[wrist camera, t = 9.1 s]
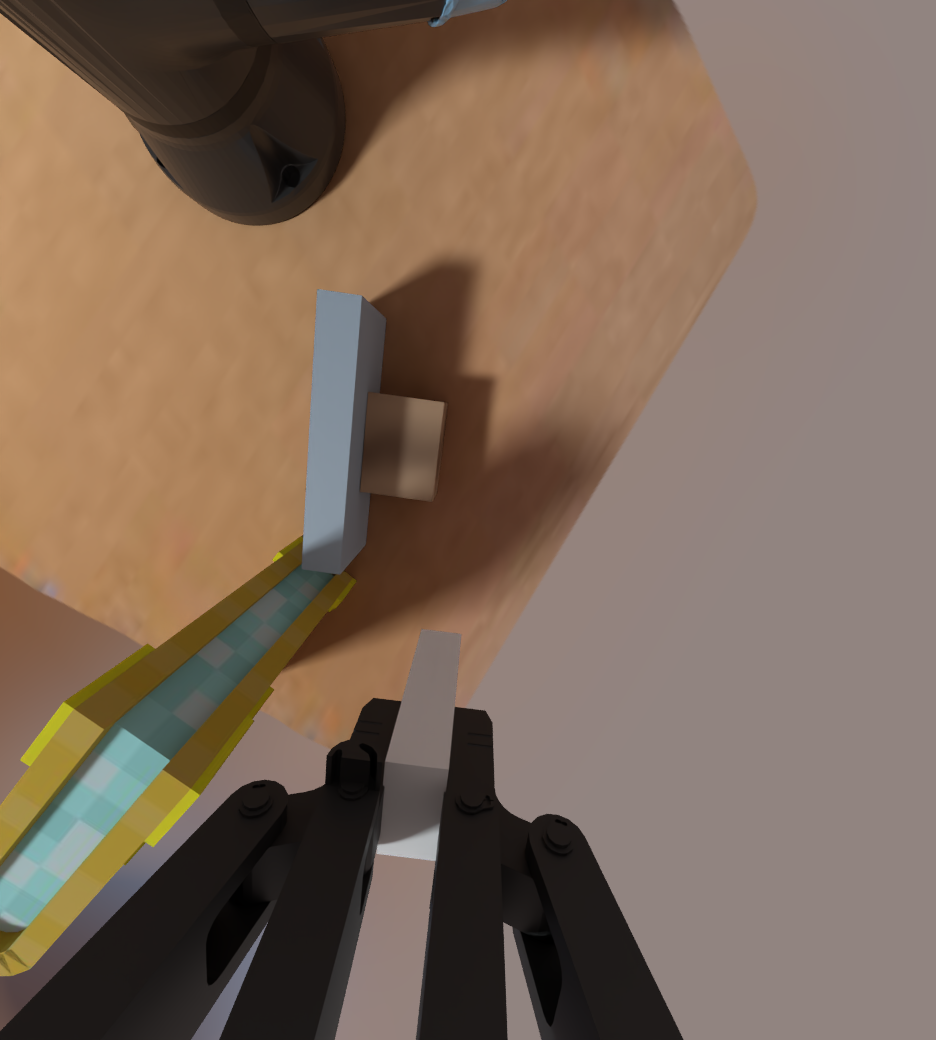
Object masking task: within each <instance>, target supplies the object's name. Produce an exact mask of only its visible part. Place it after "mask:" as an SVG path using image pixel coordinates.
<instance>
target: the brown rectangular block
mask: <svg viewBox="0 0 936 1040" xmlns="http://www.w3.org/2000/svg"><path fill="white" fill-rule="evenodd" d="M447 408H448V403H445V402H438V401H431V400H424V399H417V398H409V397H402V396H395V395H388V394H381V393H374V392H368V399H367V411H366V424H365V436H364V449H363V461H362V474H361V487H360V492H365V493H373V494H380V495H387V496H394V497H401V498H408V499H416V500H423V501H430V502H433V500H434V498H435V496H436V494H437V490H438V482H439V474H440V466H441V458H442V449H443V441H444V433H445V425H446V417H447Z"/></svg>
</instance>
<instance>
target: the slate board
mask: <svg viewBox="0 0 936 1040" xmlns="http://www.w3.org/2000/svg"><path fill="white" fill-rule="evenodd" d="M385 330H386V318H385V317H384V316H383V315H382V314H381V313H380V312H379V311H378V310H377V309H375V308H374V307H373V306H372V305H371V304H370V303H369V302H368V301H367V300H366V299H365V298H364V297H363V296H361V295H354V294H347V293H341V292H334V291H327V290H320V289H317V305H316V322H315V340H314V358H313V375H312V393H311V411H310V428H309V446H308V464H307V481H306V499H305V517H304V534H303V552H302V569H304V570H311V571H318V572H325V573H332V574H339V575H340V574H341V573H342V572H343V571H344V569H345V568H346V567H347V566H348V565H349V564H350V562H351V561H352V560H353V559H354V558H355V557H356V556H357V554H358V553H359V552H360V551H361V550H362V549H363V547H364V546H365V545H366V537H367V526H368V515H369V505H370V494H371V493H365V492H360V487H361V474H362V461H363V449H364V436H365V424H366V411H367V399H368V392H374V393H380V385H381V374H382V363H383V352H384V341H385Z"/></svg>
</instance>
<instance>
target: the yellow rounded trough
mask: <svg viewBox="0 0 936 1040" xmlns="http://www.w3.org/2000/svg"><path fill="white" fill-rule="evenodd" d="M302 552H303V537H302V536H301V537H299V538H298V539H297V540H295V541H294V542H292V543H291V544H289V545H288V546H287V547H285V548H284V549H282V550H281V551H279V552H278V554H277V555H276V556H275V557H274V558H273V561H274V563H272V564H271V565H270V566H268V567H267V568H266V569H264V570H263V571H261V572H260V573H259V574H257V575H256V576H255V577H253V578H252V579H251V580H249V581H248V582H246V583H245V584H244V585H242V586H241V587H240V588H238V589H237V590H236V591H234V592H233V593H231V594H230V595H229V596H227V597H226V598H225V599H223V600H222V601H221V602H219V603H218V604H216V605H215V606H214V607H212V608H211V609H210V610H208V611H207V612H206V613H204V614H203V615H201V616H200V617H199V618H197V619H196V620H195V621H193V622H192V623H191V624H189V625H188V626H186V627H185V628H184V629H182V630H181V631H180V632H178V633H177V634H175V635H174V636H173V637H171V638H170V639H169V640H167V641H166V642H165V643H163V644H162V645H160V646H159V647H158V648H156V649H155V648H153V647H152V646H150V645H149V644H146V645H145V646H143V647H142V648H141V649H139V650H138V651H136V652H135V653H134V654H132V655H131V656H129V657H128V658H126V659H125V660H123V661H122V662H121V663H119V664H118V665H116V666H115V667H114V668H112V669H111V670H109V671H108V672H106V673H105V674H103V675H102V676H101V677H99V678H98V679H96V680H95V681H93V682H92V683H91V684H89V685H88V686H86V687H85V688H83V689H82V690H80V691H79V692H77V693H76V694H74V695H73V696H71V697H70V698H69V699H67V700H66V701H64V702H63V704H62V705H61V706H60V708H59V709H58V710H57V712H56V713H55V714H54V716H53V717H52V718H51V720H50V721H49V722H48V723H47V725H46V726H45V727H44V729H43V730H42V732H41V733H40V734H39V736H38V737H37V738H36V739H35V741H34V742H33V743H32V745H31V746H30V748H29V749H28V750H27V751H26V753H25V754H24V756H23V757H22V758H21V761H22V762H24V763H25V764H27V765H29V766H30V767H29V768H28V770H27V771H26V772H25V774H24V775H23V776H22V778H21V779H20V780H19V781H18V783H17V784H16V785H15V787H14V788H13V789H12V791H11V792H10V793H9V795H8V796H7V797H6V798H5V800H4V801H3V802H2V804H1V805H0V976H13V975H15V974H18V973H21V972H24V971H26V970H29V969H31V967H32V966H33V965H34V964H35V963H36V962H37V961H38V960H39V958H40V957H41V956H42V955H43V954H44V953H45V952H46V951H47V950H48V948H49V947H50V946H51V945H52V944H53V943H54V942H55V941H56V939H57V938H58V937H59V936H60V935H61V934H62V933H63V932H64V930H65V929H66V928H67V927H68V926H69V925H70V924H71V923H72V921H73V920H74V919H75V918H76V917H77V916H78V915H79V914H80V913H81V911H82V910H83V909H84V908H85V907H86V906H87V905H88V903H89V902H90V901H91V900H92V899H93V898H94V897H95V896H96V894H97V893H98V892H99V891H100V890H101V889H102V888H103V886H104V885H105V884H106V883H107V882H108V881H109V880H110V879H111V877H112V876H113V875H114V874H115V873H116V872H117V871H118V870H119V869H120V867H122V865H123V864H124V865H126V864H127V863H128V862H129V861H130V859H131V858H132V857H133V856H134V855H135V854H136V853H137V852H138V850H139V849H140V848H141V847H142V846H143V845H144V844H145V843H147V844H149V845H150V846H152V847H154V846H155V845H156V844H157V842H158V841H159V840H160V839H161V838H162V837H163V836H164V835H165V833H166V832H167V831H168V830H169V829H170V828H171V827H172V826H173V825H174V824H175V822H176V821H177V820H178V819H179V818H180V817H181V816H182V815H183V814H184V812H185V811H186V810H187V809H188V808H189V807H190V806H191V805H192V803H194V801H195V800H196V799H197V798H198V797H199V796H200V795H201V793H202V792H203V791H204V789H205V788H206V786H207V785H208V784H209V782H210V781H211V780H212V778H213V777H214V775H215V774H216V773H217V771H218V770H219V769H220V767H221V766H222V764H223V763H224V762H225V760H226V759H227V758H228V756H229V755H230V753H231V752H232V751H233V749H234V748H235V747H236V745H237V744H238V743H239V741H240V740H241V739H242V737H243V736H244V734H245V733H246V732H247V730H248V729H249V728H250V726H251V725H252V724H253V722H254V720H252V719H253V718H254V716H255V715H256V714H257V712H258V711H259V710H260V708H261V707H262V706H263V704H264V703H265V702H266V700H267V699H268V697H269V696H270V695H271V693H272V692H273V691H274V689H273V688H271V687H270V685H271V684H272V683H273V681H274V680H275V679H276V677H277V676H278V675H279V673H280V672H281V671H282V670H283V668H284V667H285V666H286V664H287V663H288V662H289V660H290V659H291V658H292V657H293V655H294V654H295V653H296V651H297V650H298V649H299V647H300V646H301V645H302V644H303V642H304V641H305V640H306V638H307V637H308V636H309V634H310V633H311V632H312V631H313V629H314V628H315V627H316V625H317V624H318V623H319V621H320V620H321V619H322V618H323V616H324V615H325V614H326V612H327V611H328V612H331V611H332V609H333V608H334V609H336V608H337V607H338V605H339V604H340V603H341V602H342V601H343V599H344V598H345V597H346V595H347V594H348V592H349V591H350V590H351V588H352V587H353V586H354V584H355V583H356V582H357V581H356V580H355V579H354V578H353V577H351V576H350V575H349V574H348V573H346V572H345V571H343V572H342V573H341V574H340V575H339V574H336V575H335V576H334V575H332V574H331V573H325V572H318V571H311V570H304V569H302Z"/></svg>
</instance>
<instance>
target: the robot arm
mask: <svg viewBox="0 0 936 1040" xmlns="http://www.w3.org/2000/svg"><path fill="white" fill-rule="evenodd" d="M506 1H507V0H0V13H1V14H2V15H3V16H4V17H6V18H7V19H8V20H9V21H11V22H12V23H13V24H14V25H16V26H17V27H18V28H19V29H21V30H22V31H23V32H24V33H26V34H27V35H28V36H29V37H31V38H32V39H33V40H34V41H36V42H37V43H38V44H39V45H41V46H42V47H43V48H44V49H46V50H47V51H48V52H49V53H51V54H52V55H53V56H54V57H56V58H57V59H58V60H59V61H61V62H62V63H63V64H64V65H66V66H67V67H68V68H69V69H71V70H72V71H73V72H74V73H76V74H77V75H78V76H79V77H81V78H82V79H83V80H84V81H86V82H87V83H88V84H89V85H91V86H92V87H93V88H94V89H96V90H97V91H98V92H99V93H101V94H102V95H103V96H104V97H106V98H107V99H108V100H109V101H111V102H112V103H113V104H114V105H116V106H117V107H118V108H119V109H120V110H121V111H123V112H124V113H125V115H126V117H127V118H128V120H129V121H130V123H131V124H132V125H133V127H134V128H135V129H136V130H137V131H138V132H139V133H140V136H141V138H142V140H143V142H144V144H145V146H146V147H147V149H148V151H149V152H150V154H151V156H152V157H153V159H154V160H155V162H156V163H157V165H158V166H159V167H160V169H161V170H162V171H163V172H164V174H165V175H166V176H167V177H168V178H169V179H170V180H171V181H172V182H173V183H174V184H175V185H176V186H177V187H178V188H179V189H180V190H181V191H182V192H184V193H185V194H186V195H187V196H189V197H190V198H192V199H193V200H194V201H196V202H197V203H198V204H200V205H201V206H202V207H204V208H205V209H207V210H208V211H210V212H212V213H213V214H215V215H217V216H219V217H221V218H223V219H226V220H229V221H232V222H235V223H239V224H244V225H269V224H275V223H279V222H282V221H285V220H287V219H290V218H292V217H294V216H296V215H298V214H299V213H301V212H302V211H304V210H305V209H306V208H308V207H309V206H310V205H311V204H312V203H313V202H314V201H315V200H316V199H317V198H318V197H319V196H320V195H321V193H322V192H323V191H324V190H325V188H326V186H327V185H328V183H329V182H330V180H331V178H332V176H333V174H334V172H335V170H336V167H337V165H338V162H339V159H340V156H341V152H342V147H343V142H344V135H345V105H344V98H343V92H342V88H341V84H340V80H339V77H338V74H337V71H336V68H335V66H334V63H333V61H332V59H331V56H330V54H329V52H328V50H327V47H326V45H325V43H324V40H323V38H322V37H328V36H335V35H341V34H348V33H354V32H361V31H367V30H374V29H380V28H387V27H393V26H400V25H407V24H413V23H420V22H426V21H427V22H428V24H429V26H431V27H438V26H441V25H443V24H444V23H445V22H447V21H448V20H449V18H452V17H456V16H461V15H465V14H470V13H474V12H479V11H483V10H488V9H492V8H496V7H498V6H500V5H501V4H503V3H505V2H506ZM460 643H461V634H457V633H449V632H441V631H433V630H425V629H422V630H421V633H420V637H419V640H418V644H417V648H416V651H415V655H414V659H413V662H412V666H411V669H410V673H409V677H408V680H407V684H406V688H405V691H404V695H403V698H402V701H394V700H386V699H378V698H373V699H372V700H371V701H370V702H368V703H367V704H366V705H365V706H364V707H363V708H362V711H361V713H360V716H359V718H358V722H357V723H356V726H355V728H354V732H353V733H352V736H351V738H350V740H347V741H344V742H341V743H339V744H338V745H336V746H335V747H333V748H332V749H331V750H330V752H329V753H328V755H327V761H326V780H325V784H324V785H323V786H321V787H319V788H317V789H315V790H312V791H307V792H303V793H296V794H290V795H288V793H287V792H286V790H285V788H284V786H282V785H281V784H279V783H277V782H276V781H270V780H261V781H254V782H251V783H249V784H247V785H244V786H242V787H240V788H239V789H238V790H237V791H235V792H234V793H233V794H232V795H230V797H229V798H228V799H227V800H226V801H225V802H224V803H223V804H222V805H221V806H220V807H219V808H218V809H217V810H216V811H215V812H214V813H213V814H212V815H211V816H210V817H209V818H208V819H207V820H206V821H205V822H204V823H203V824H202V825H201V826H200V827H199V828H198V829H197V830H196V831H195V832H194V833H193V834H192V835H191V836H190V837H189V839H188V840H187V841H186V842H185V843H184V844H183V845H182V846H181V847H180V848H179V849H178V850H177V851H176V852H175V853H174V854H173V855H172V856H171V857H170V858H169V859H168V860H167V861H166V862H165V863H164V864H163V865H162V866H161V867H160V868H159V869H158V871H156V872H155V873H154V874H153V875H152V876H151V878H150V879H148V881H147V882H146V883H145V884H144V885H143V886H142V887H141V888H140V889H139V890H138V891H137V892H136V893H135V894H134V895H133V896H132V897H131V898H130V899H129V900H128V901H127V902H126V903H125V904H124V905H123V906H122V907H121V908H120V909H119V910H118V911H117V912H116V913H115V914H114V915H113V916H112V917H111V918H110V919H109V920H108V922H106V923H105V925H104V926H103V927H102V928H101V929H100V930H99V931H98V932H97V933H96V934H95V935H94V936H93V937H92V938H91V939H90V940H89V941H88V942H87V943H86V944H85V945H84V946H83V947H82V948H81V949H80V950H79V951H78V952H77V953H76V954H75V955H74V956H73V957H72V958H71V959H70V961H68V962H67V964H66V965H65V966H63V968H62V969H61V970H60V971H59V972H58V973H57V974H56V975H55V976H54V977H53V978H52V979H51V980H50V981H49V982H48V983H47V984H46V985H45V986H44V987H43V988H42V989H41V990H40V991H39V992H38V993H37V994H36V995H35V996H34V997H33V998H32V999H31V1000H30V1002H28V1003H27V1004H26V1006H24V1007H23V1009H22V1010H21V1011H20V1012H19V1013H18V1014H17V1015H16V1016H15V1017H14V1018H13V1019H12V1020H11V1021H10V1022H9V1023H8V1024H7V1025H6V1026H5V1027H4V1028H3V1029H2V1030H1V1031H0V1040H191V1039H192V1037H193V1036H194V1034H195V1032H196V1031H197V1029H198V1028H199V1026H200V1025H201V1023H202V1022H203V1020H204V1019H205V1017H206V1016H207V1014H208V1013H209V1011H210V1010H211V1008H212V1006H213V1005H214V1003H215V1002H216V1000H217V999H218V997H219V996H220V994H221V993H222V991H223V989H224V988H225V987H226V985H227V984H228V982H229V980H230V979H231V977H232V976H233V974H234V973H235V971H236V970H237V968H238V967H239V965H240V964H241V962H242V961H243V959H244V958H245V956H246V954H247V953H248V951H249V950H250V948H251V947H252V945H253V944H254V942H255V941H256V939H257V938H258V936H259V935H260V933H261V932H262V930H263V929H264V927H265V925H266V924H267V922H268V924H267V926H266V928H265V931H264V933H263V936H262V938H261V940H260V943H259V946H258V948H257V950H256V953H255V955H254V957H253V960H252V962H251V965H250V967H249V970H248V972H247V974H246V977H245V979H244V981H243V984H242V986H241V989H240V991H239V994H238V996H237V998H236V1001H235V1003H234V1006H233V1008H232V1011H231V1013H230V1016H229V1018H228V1020H227V1022H226V1025H225V1027H224V1030H223V1032H222V1035H221V1037H220V1039H219V1040H335V1035H336V1031H337V1027H338V1023H339V1018H340V1014H341V1009H342V1005H343V1001H344V997H345V993H346V988H347V984H348V979H349V975H350V971H351V967H352V962H353V958H354V954H355V950H356V945H357V941H358V937H359V932H360V928H361V923H362V919H363V915H364V911H365V906H366V902H367V898H368V894H369V889H370V885H371V881H372V875H373V864H374V858H375V853H376V849H377V853H378V854H383V855H392V856H399V857H407V858H416V859H423V860H432V861H435V870H434V879H433V885H432V893H431V900H430V914H429V924H428V932H427V942H426V951H425V960H424V969H423V979H422V988H421V998H420V1007H419V1016H418V1025H417V1035H416V1040H508V1039H507V1014H506V988H505V987H506V986H505V960H504V934H503V922H504V923H506V924H508V925H510V926H512V927H513V934H514V938H515V941H516V945H517V949H518V953H519V956H520V960H521V964H522V968H523V972H524V975H525V979H526V983H527V987H528V990H529V994H530V998H531V1001H532V1005H533V1009H534V1013H535V1017H536V1020H537V1024H538V1028H539V1032H540V1035H541V1039H542V1040H683V1038H682V1036H681V1034H680V1032H679V1030H678V1027H677V1025H676V1023H675V1021H674V1019H673V1017H672V1015H671V1013H670V1011H669V1009H668V1007H667V1005H666V1003H665V1001H664V999H663V997H662V995H661V992H660V991H659V989H658V986H657V984H656V982H655V980H654V978H653V976H652V974H651V972H650V970H649V968H648V966H647V964H646V962H645V959H644V957H643V955H642V953H641V951H640V949H639V948H638V945H637V943H636V941H635V939H634V937H633V935H632V933H631V931H630V929H629V927H628V924H627V923H626V920H625V918H624V916H623V914H622V912H621V910H620V908H619V906H618V904H617V902H616V900H615V898H614V896H613V894H612V892H611V889H610V887H609V885H608V883H607V881H606V879H605V878H604V875H603V873H602V871H601V869H600V867H599V865H598V863H597V861H596V859H595V857H594V855H593V852H592V851H591V848H590V846H589V845H588V842H587V840H586V838H585V836H584V835H583V834H582V832H581V831H580V829H579V828H578V827H577V826H576V825H575V824H573V823H572V822H571V821H570V820H569V819H566V818H564V817H562V816H559V815H552V814H545V815H542V816H539V817H537V818H536V819H535V820H534V821H533V822H532V823H530V822H528V821H525V820H523V819H521V818H518V817H517V816H515V815H513V814H511V813H510V812H509V811H507V810H506V809H505V808H504V807H503V806H502V804H501V803H500V802H499V800H498V798H497V796H496V794H495V788H494V761H493V760H494V759H493V728H492V721H491V720H490V718H489V716H488V714H487V713H486V711H483V710H475V709H467V708H459V707H455V697H456V686H457V676H458V665H459V654H460Z"/></svg>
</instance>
